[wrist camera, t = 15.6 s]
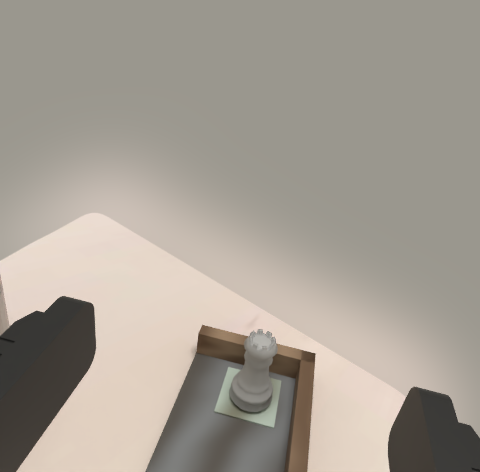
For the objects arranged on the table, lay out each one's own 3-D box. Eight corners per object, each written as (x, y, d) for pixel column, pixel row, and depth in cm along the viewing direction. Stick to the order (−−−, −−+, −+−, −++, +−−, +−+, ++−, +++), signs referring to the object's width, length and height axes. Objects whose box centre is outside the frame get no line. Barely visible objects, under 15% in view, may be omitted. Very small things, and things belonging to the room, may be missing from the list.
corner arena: (144, 477, 35) (145, 451, 33) (199, 347, 49) (202, 325, 47) (296, 523, 34) (305, 498, 32) (308, 375, 48) (315, 353, 46)
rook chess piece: (251, 372, 46) (263, 316, 42) (280, 400, 43) (295, 343, 39) (219, 391, 43) (229, 333, 39) (248, 423, 40) (261, 363, 36)
